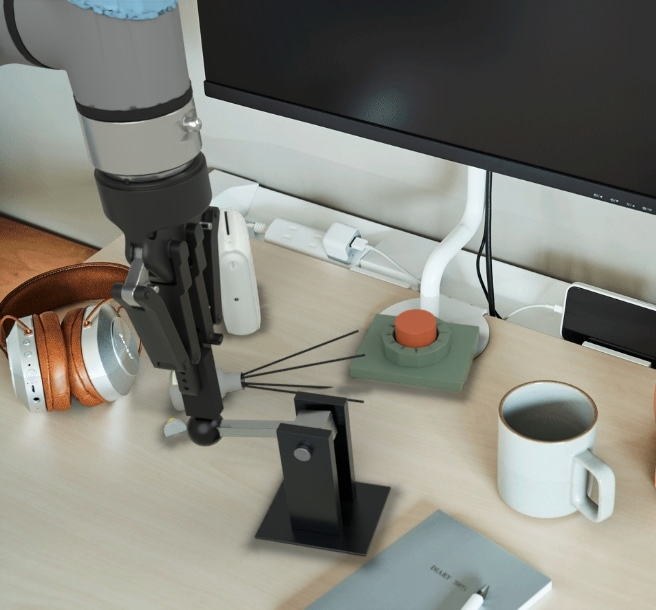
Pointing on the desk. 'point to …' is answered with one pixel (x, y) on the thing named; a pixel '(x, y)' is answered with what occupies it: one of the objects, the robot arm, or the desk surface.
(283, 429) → the bracket
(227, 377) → the reed diffuser
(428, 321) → the button
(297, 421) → the tap lever
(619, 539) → the desk surface
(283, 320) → the desk surface
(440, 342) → the button block
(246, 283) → the photo printer
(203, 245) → the robot arm
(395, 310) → the desk surface
